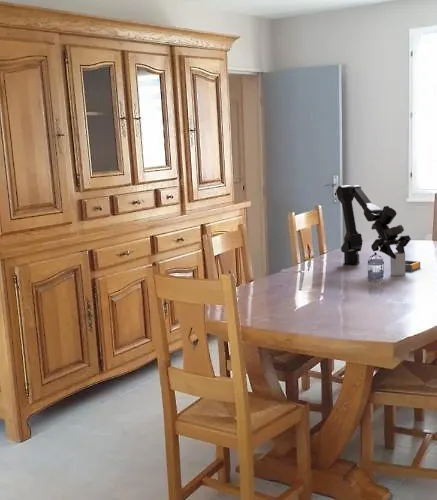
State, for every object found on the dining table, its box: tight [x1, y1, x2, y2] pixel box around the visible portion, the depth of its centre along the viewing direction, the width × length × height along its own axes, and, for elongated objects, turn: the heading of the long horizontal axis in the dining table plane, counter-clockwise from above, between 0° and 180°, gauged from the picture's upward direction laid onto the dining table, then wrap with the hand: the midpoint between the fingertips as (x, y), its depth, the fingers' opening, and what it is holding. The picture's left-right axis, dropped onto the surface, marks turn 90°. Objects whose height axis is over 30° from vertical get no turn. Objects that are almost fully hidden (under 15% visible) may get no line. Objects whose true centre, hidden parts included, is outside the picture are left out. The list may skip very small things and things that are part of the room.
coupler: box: [405, 259, 421, 272], centre depth 307 cm, size 9×9×3 cm
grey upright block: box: [389, 251, 406, 277], centre depth 295 cm, size 4×5×10 cm
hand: (399, 257), depth 293 cm, fingers closed on grey upright block, 5 cm apart
